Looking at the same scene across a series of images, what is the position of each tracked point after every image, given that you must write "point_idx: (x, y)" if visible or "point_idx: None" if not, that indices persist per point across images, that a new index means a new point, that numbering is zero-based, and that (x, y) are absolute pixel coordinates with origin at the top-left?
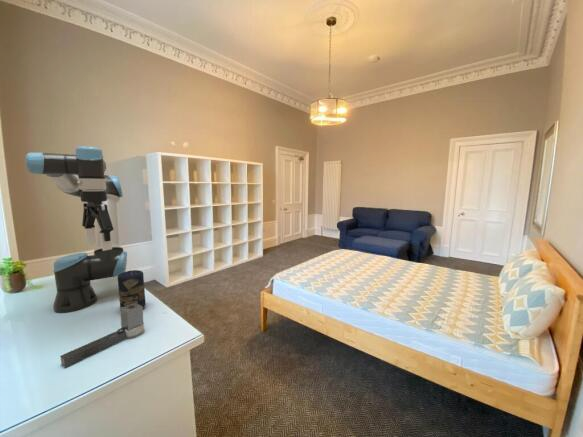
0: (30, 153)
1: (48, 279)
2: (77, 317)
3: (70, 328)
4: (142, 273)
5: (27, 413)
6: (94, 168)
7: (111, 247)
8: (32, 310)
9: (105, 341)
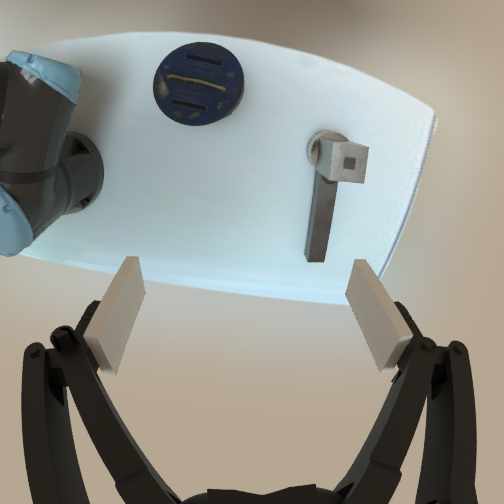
0: None
1: None
2: (140, 187)
3: (184, 210)
4: (229, 51)
5: None
6: None
7: (369, 267)
8: (48, 231)
9: (333, 208)
